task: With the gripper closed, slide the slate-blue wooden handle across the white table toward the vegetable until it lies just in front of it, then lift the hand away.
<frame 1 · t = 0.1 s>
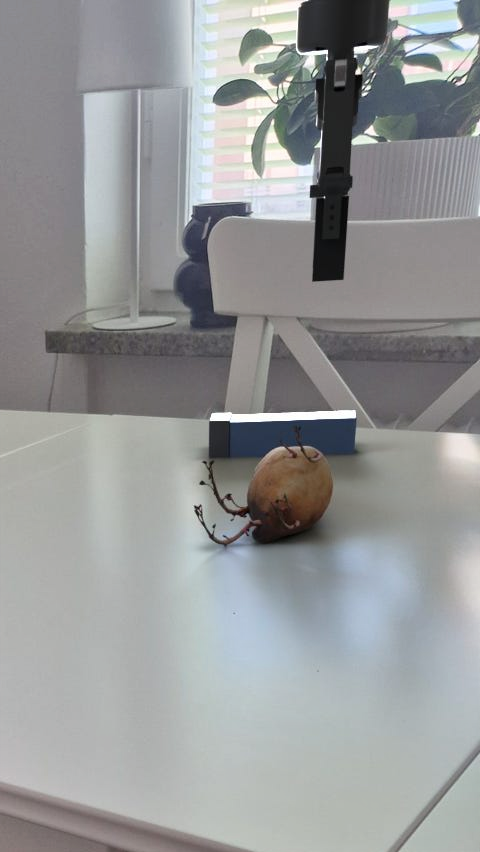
hand: (327, 273, 109), 16 cm above the table, tool pointing down, fingers open, 13 cm apart
vegetable: (260, 525, 96), on the table
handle: (280, 454, 116), on the table
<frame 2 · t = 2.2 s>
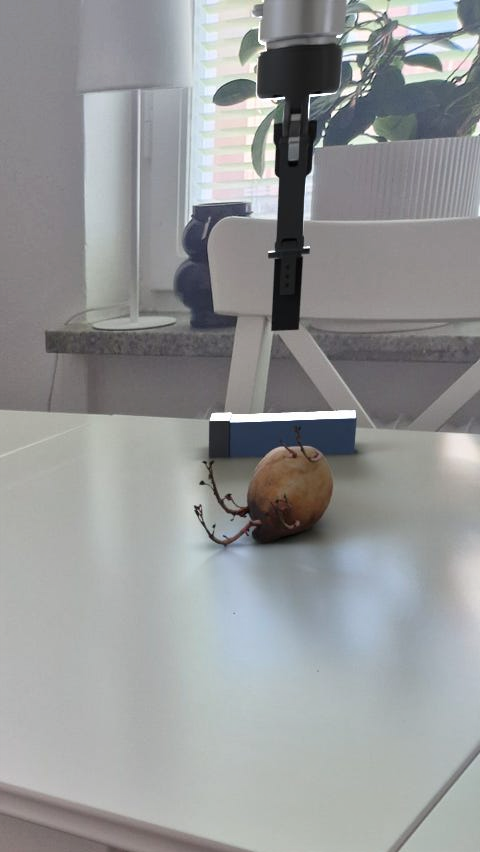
hand: (285, 329, 117), 11 cm above the table, tool pointing down, fingers closed
nothing on the table moved.
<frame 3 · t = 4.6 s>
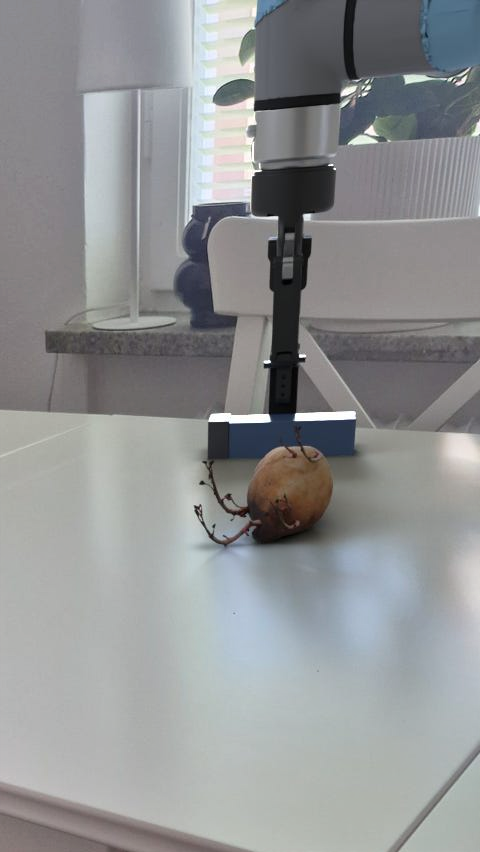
hand: (281, 435, 117), 1 cm above the table, tool pointing down, fingers closed
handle: (280, 455, 116), on the table, touching gripper
everything else where it was.
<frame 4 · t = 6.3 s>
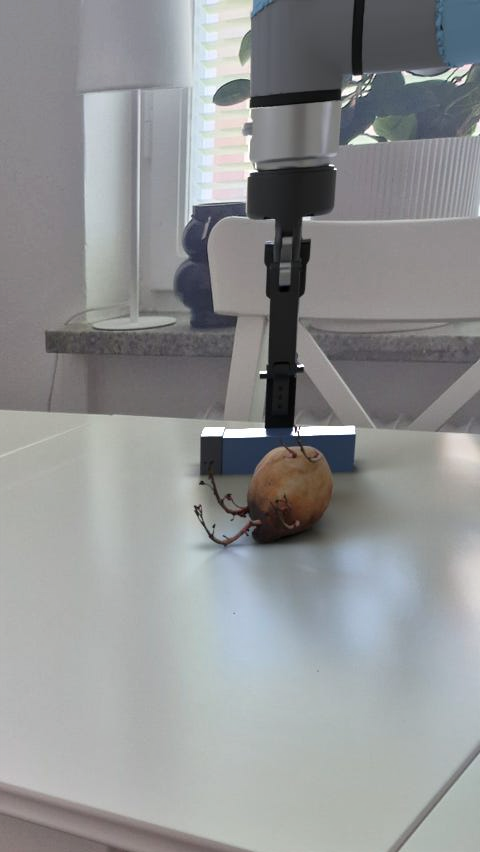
hand: (278, 448, 112), 2 cm above the table, tool pointing down, fingers closed
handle: (276, 471, 110), on the table, touching gripper
everything else where it was.
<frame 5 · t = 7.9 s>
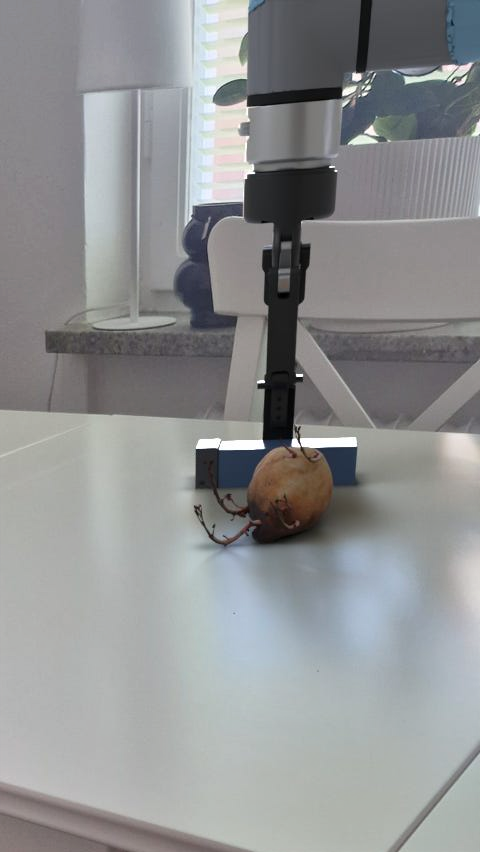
hand: (276, 460, 107), 2 cm above the table, tool pointing down, fingers closed
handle: (274, 484, 106), on the table, touching gripper
everything else where it was.
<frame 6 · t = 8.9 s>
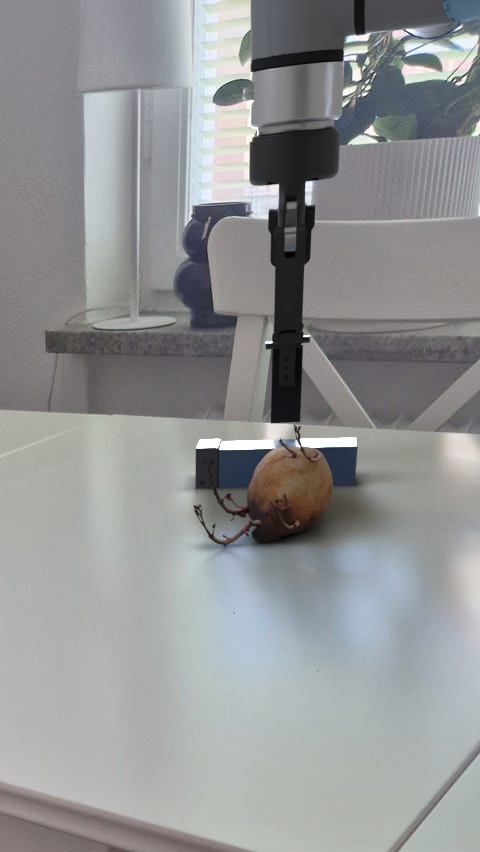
hand: (285, 420, 110), 4 cm above the table, tool pointing down, fingers closed
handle: (274, 484, 106), on the table
everything else where it was.
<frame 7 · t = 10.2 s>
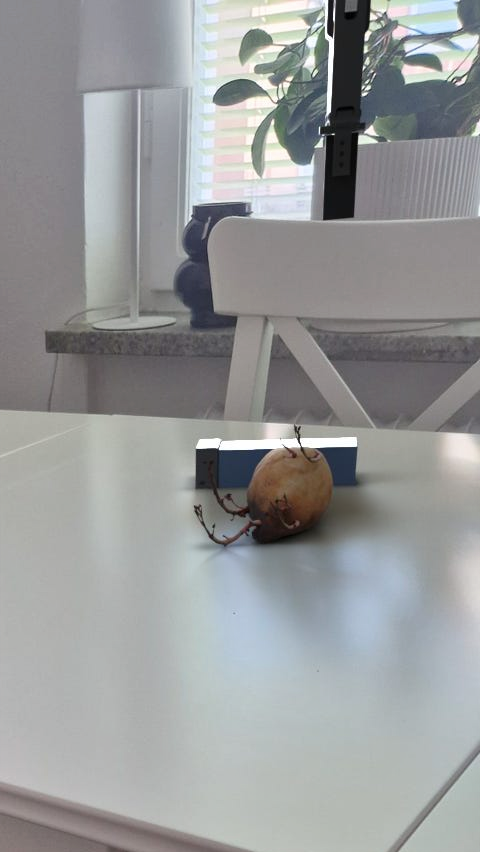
hand: (337, 218, 104), 21 cm above the table, tool pointing down, fingers closed
nothing on the table moved.
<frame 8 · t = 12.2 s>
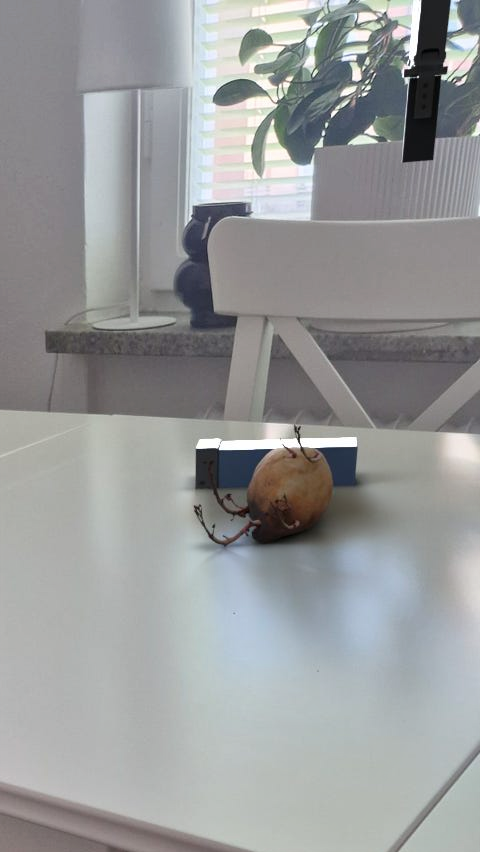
hand: (417, 161, 107), 24 cm above the table, tool pointing down, fingers closed
nothing on the table moved.
at the end: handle 12.7 cm from the vegetable (horizontally); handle moved 12.3 cm from its start; vegetable moved 0.2 cm from its start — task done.
